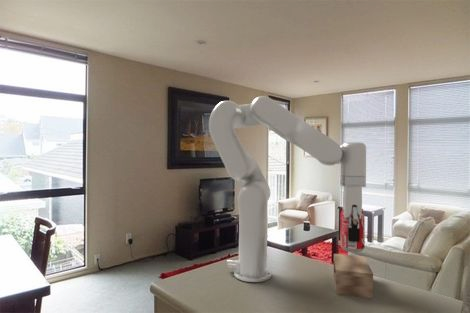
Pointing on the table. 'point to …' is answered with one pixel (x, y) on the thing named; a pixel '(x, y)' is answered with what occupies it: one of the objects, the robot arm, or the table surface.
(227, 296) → the table surface
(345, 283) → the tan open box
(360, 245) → the soda can
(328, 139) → the robot arm
